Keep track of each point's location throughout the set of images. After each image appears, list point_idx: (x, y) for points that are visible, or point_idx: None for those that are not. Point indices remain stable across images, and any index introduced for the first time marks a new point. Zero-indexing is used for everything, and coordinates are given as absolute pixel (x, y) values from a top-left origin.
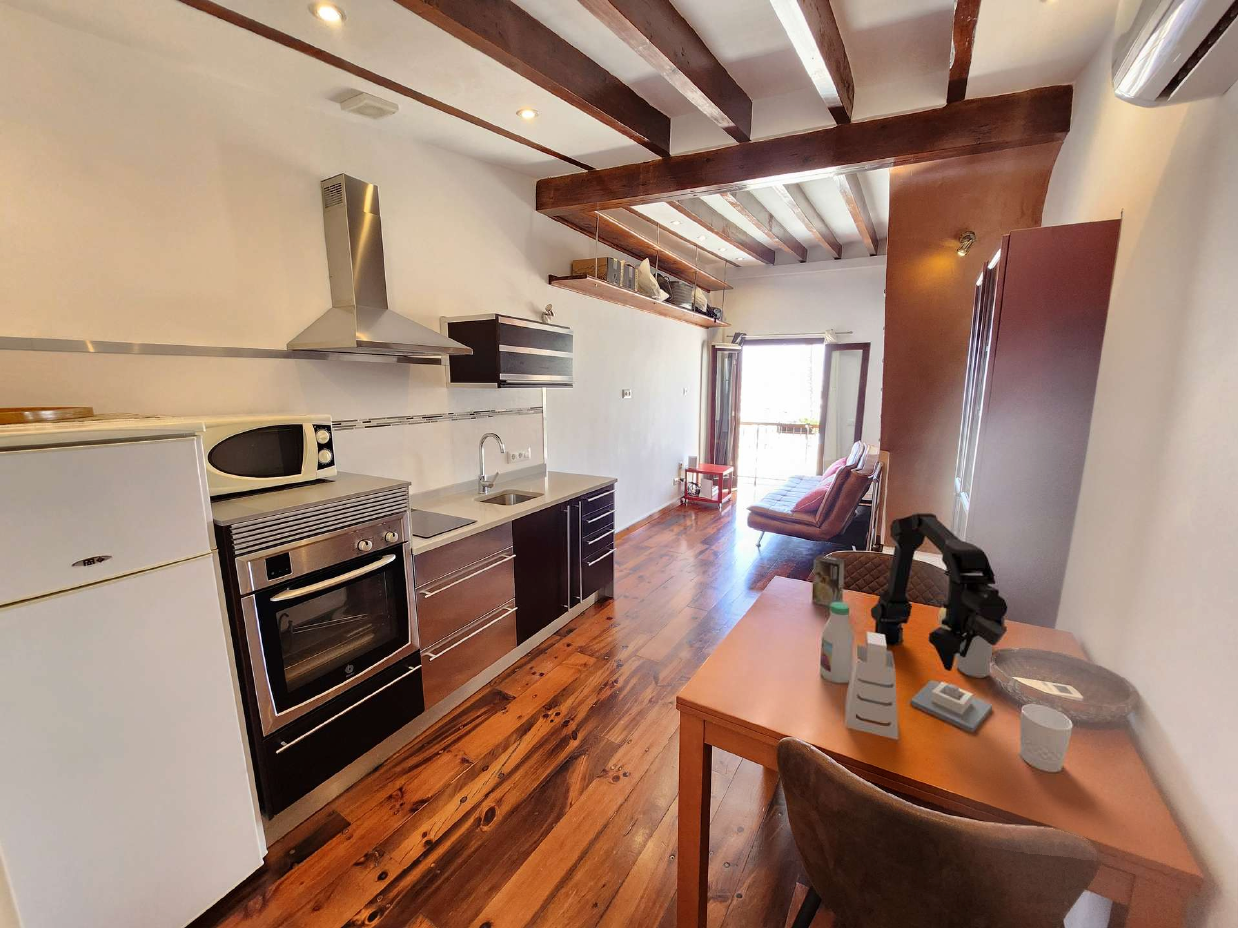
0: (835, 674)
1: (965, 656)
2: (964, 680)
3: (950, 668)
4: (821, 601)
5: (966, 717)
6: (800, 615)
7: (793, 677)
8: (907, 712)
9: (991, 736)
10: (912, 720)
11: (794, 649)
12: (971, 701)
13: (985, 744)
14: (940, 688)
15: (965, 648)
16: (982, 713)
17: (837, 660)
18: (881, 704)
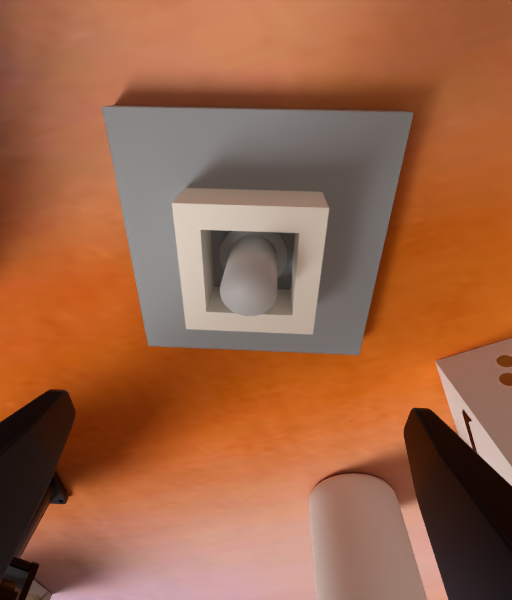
0: (402, 517)
1: (58, 394)
2: (4, 264)
3: (451, 432)
4: (36, 595)
5: (332, 167)
6: (136, 590)
7: None
8: (415, 332)
9: (370, 25)
10: (460, 307)
11: (300, 563)
12: (187, 191)
13: (470, 26)
14: (256, 318)
15: (5, 473)
16: (232, 120)
17: (419, 575)
18: (451, 399)
